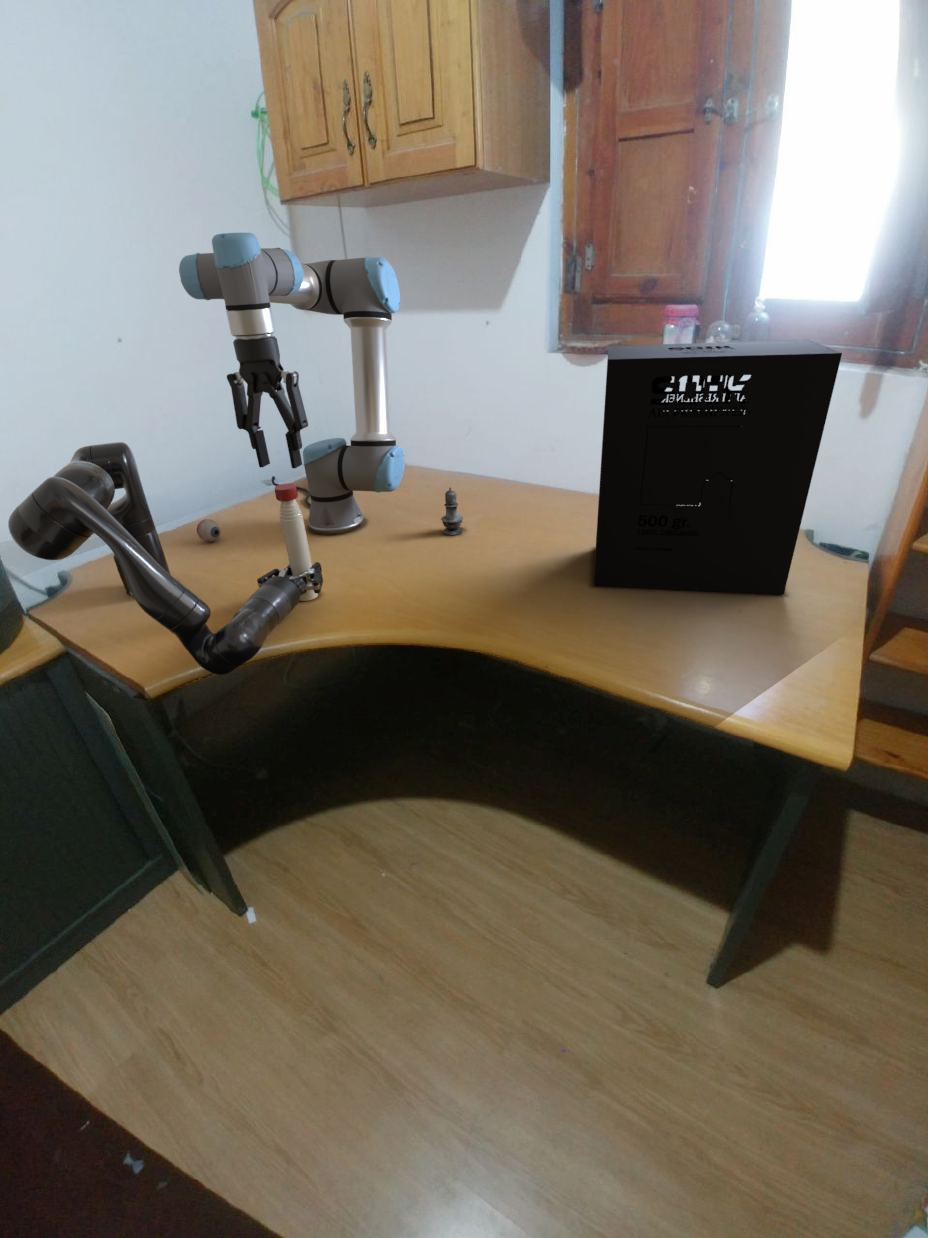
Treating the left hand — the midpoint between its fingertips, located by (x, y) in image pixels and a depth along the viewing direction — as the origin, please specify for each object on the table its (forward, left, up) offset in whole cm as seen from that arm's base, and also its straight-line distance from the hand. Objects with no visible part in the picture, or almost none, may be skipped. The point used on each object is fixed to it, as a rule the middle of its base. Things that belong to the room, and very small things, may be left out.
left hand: (307, 565), depth 132 cm
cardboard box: (+81, +17, -6) cm, 83 cm away
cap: (0, -3, +18) cm, 18 cm away
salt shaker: (+25, +36, -6) cm, 44 cm away
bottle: (0, -3, -6) cm, 7 cm away
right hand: (0, -3, +23) cm, 23 cm away
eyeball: (-40, +25, -6) cm, 48 cm away
